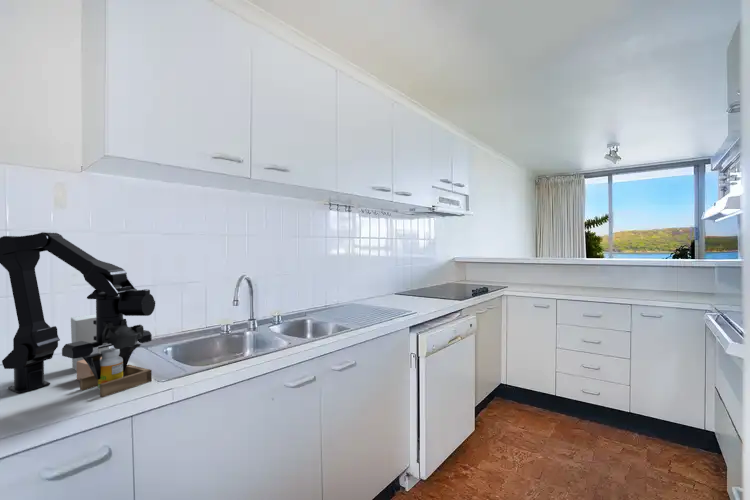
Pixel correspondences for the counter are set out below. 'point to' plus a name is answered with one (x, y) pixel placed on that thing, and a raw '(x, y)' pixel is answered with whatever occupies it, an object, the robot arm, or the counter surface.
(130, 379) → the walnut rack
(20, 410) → the counter surface
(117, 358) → the supplement bottle
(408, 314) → the counter surface
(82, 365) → the terracotta pedestal
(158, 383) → the counter surface
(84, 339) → the skincare box
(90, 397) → the counter surface
